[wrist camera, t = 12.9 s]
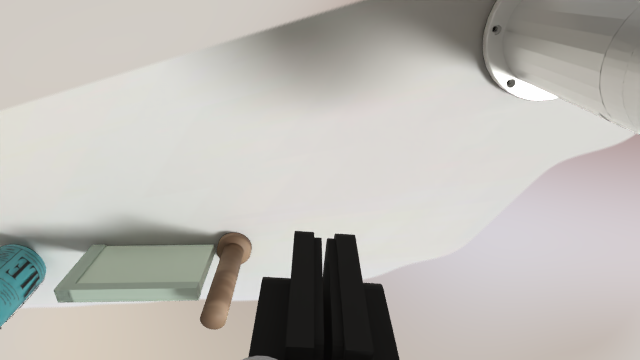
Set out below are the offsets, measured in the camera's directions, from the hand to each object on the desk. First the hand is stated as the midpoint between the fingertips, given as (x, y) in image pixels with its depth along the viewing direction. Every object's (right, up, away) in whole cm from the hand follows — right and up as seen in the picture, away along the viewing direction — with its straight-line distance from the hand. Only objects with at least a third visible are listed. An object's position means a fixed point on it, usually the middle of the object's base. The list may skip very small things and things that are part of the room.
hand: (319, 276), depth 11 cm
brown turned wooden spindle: (-10, -5, +38) cm, 40 cm away
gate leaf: (-20, -6, +38) cm, 43 cm away
